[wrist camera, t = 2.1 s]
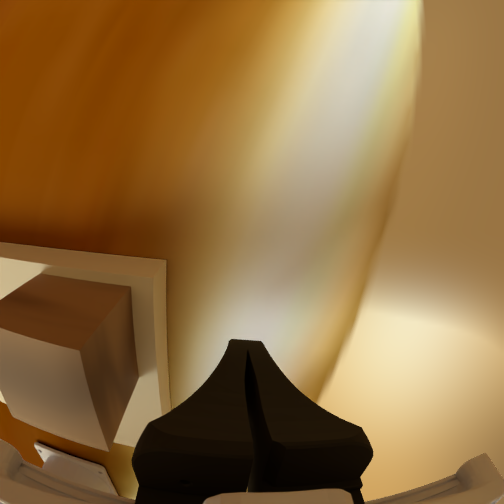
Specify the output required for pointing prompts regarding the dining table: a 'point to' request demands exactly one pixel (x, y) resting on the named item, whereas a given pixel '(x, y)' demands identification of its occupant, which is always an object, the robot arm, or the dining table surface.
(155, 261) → the board
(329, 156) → the dining table surface
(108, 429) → the walnut block
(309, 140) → the dining table surface
